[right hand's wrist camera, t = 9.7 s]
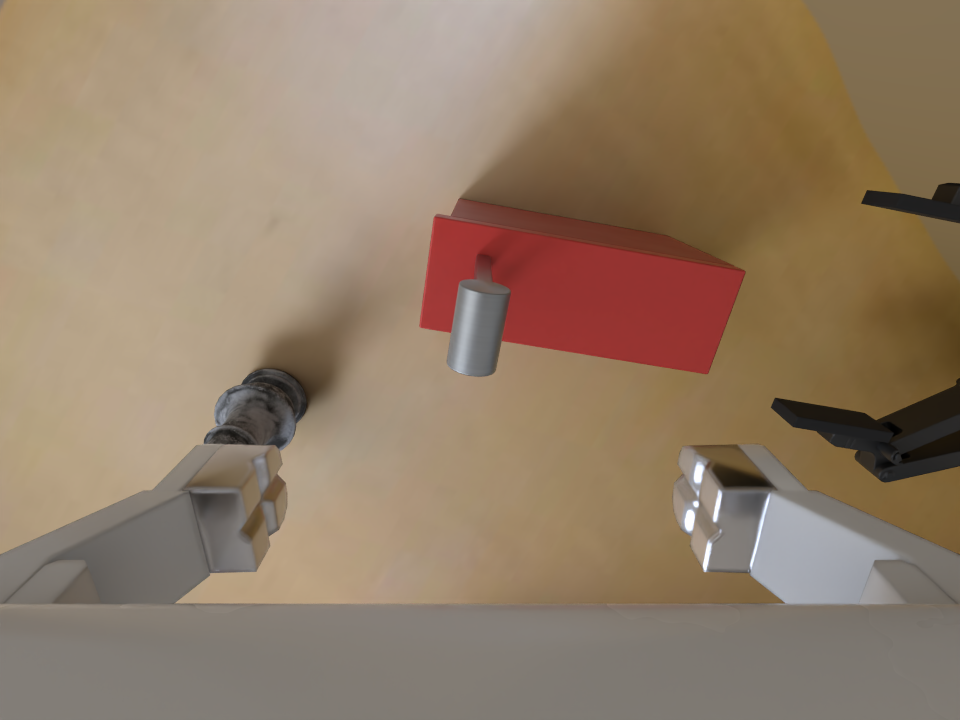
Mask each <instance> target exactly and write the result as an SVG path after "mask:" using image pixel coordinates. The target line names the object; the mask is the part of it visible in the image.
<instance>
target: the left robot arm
mask: <svg viewBox="0 0 960 720" xmlns="http://www.w3.org/2000/svg"><path fill="white" fill-rule="evenodd" d="M861 204H866V205H871V206H876V207H881V208H886V209H891V210H896V211H901V212H906V213H911V214H916V215H921V216H926V217H931V218H936V219H941V220H947V221H951V222H956V223H960V184H959V183H946V184H941V185H939V186H938V188H937V190H936V192H935V194H934V196H933V198H932V200H931V199H926V198H921V197H916V196H911V195H906V194H900V193H889V192H879V191H869V190H867V192H866V194H865V196H864V198H863V201H862V203H861ZM956 383H957V384H956V386H954V387H951V388H949V389H947V390H945V391H942V392H940V393H938V394H935V395H933V396H931V397H928V398H926V399H924V400H922V401H919V402H917V403H915V404H912V405H910V406H908V407H906V408H903V409H901V410H899V411H896V412H894V413H892V414H889V415H887V416H885V417H883V418H880V419H878V420H874V419H873V418H871V417H870V416H868V415H867V414H865V413H861V412H856V411H850V410H844V409H838V408H832V407H826V406H820V405H815V404H809V403H803V402H797V401H791V400H785V399H779V398H775V399H774V401H773V404H772V406H771V408H772V409H773V410H774V411H775V412H777V413H778V414H779V415H780V416H781V417H782V418H783V419H785V420H786V421H787V422H788V423H789V424H790V425H791V426H792V427H795V428H801V429H807V430H813V431H817V432H818V433H819V434H820V435H821V436H822V437H824V438H825V439H826V440H827V441H828V442H830V443H831V444H833V445H834V446H836V447H842V448H843V447H844V448H848V449H849V448H850V449H854V450H859V451H857V452H856V454H855V460H856V461H857V462H859V463H860V464H861V465H862V466H863V467H865V468H866V469H867V470H868V471H870V472H871V473H872V474H873V475H874V476H876V477H877V478H878V479H879V480H881V481H882V482H891V481H895V480H900V479H904V478H909V477H913V476H918V475H922V474H927V473H931V472H936V471H940V470H945V469H949V468H954V467H958V466H960V378H959V379H957V381H956Z"/></svg>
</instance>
